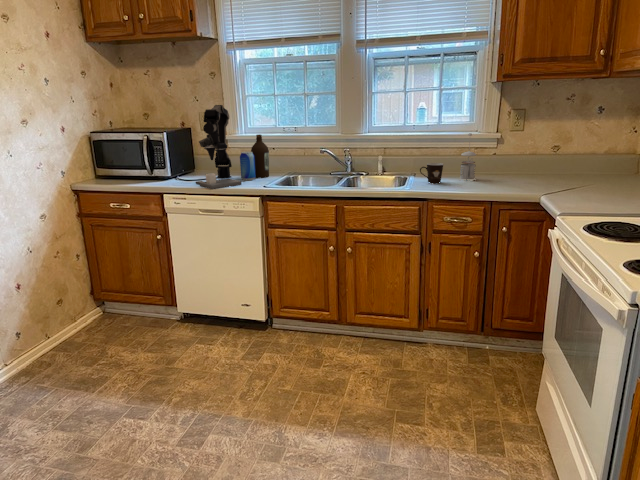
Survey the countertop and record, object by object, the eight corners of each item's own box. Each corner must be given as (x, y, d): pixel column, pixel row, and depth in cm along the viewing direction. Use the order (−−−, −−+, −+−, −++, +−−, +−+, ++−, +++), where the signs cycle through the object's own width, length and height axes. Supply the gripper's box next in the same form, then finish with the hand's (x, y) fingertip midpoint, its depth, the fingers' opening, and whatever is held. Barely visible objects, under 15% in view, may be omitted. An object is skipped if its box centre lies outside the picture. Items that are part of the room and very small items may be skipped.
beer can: (258, 179, 282) (257, 151, 278) (247, 181, 276) (245, 153, 272) (249, 177, 288) (247, 151, 283) (238, 179, 282) (236, 152, 277)
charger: (213, 183, 268) (212, 173, 266) (216, 184, 265) (215, 173, 263) (206, 184, 266) (205, 173, 264) (210, 185, 263) (208, 174, 261)
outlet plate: (228, 181, 276) (228, 178, 276) (241, 184, 266) (241, 181, 265) (200, 186, 265) (199, 182, 265) (212, 189, 255) (211, 185, 254)
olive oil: (250, 178, 287) (247, 135, 280) (255, 175, 297) (253, 134, 290) (267, 178, 285) (264, 135, 278) (272, 175, 295) (270, 133, 288)
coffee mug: (443, 181, 260) (444, 163, 257) (440, 184, 252) (441, 165, 249) (422, 180, 264) (423, 162, 261) (418, 183, 257) (419, 164, 254)
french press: (474, 177, 269) (477, 132, 261) (479, 181, 258) (482, 134, 250) (456, 178, 270) (459, 132, 262) (460, 181, 259) (463, 134, 251)
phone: (201, 182, 275) (201, 180, 275) (207, 184, 270) (206, 182, 270) (195, 183, 273) (195, 181, 273) (201, 185, 268) (201, 183, 268)
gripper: (192, 132, 268) (195, 160, 273) (208, 134, 254) (210, 163, 259) (210, 131, 275) (213, 158, 279) (226, 132, 261) (229, 161, 266)
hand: (215, 160), depth 271 cm, fingers open, 9 cm apart
